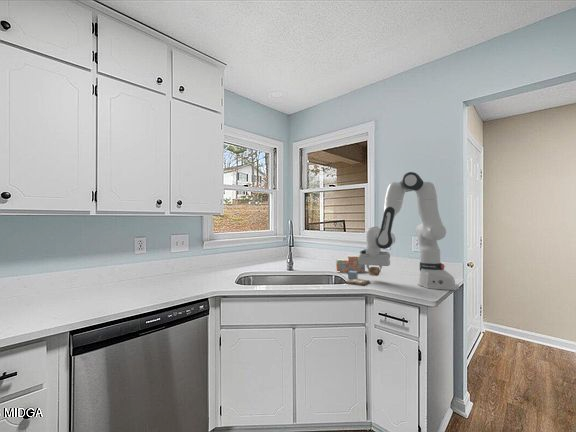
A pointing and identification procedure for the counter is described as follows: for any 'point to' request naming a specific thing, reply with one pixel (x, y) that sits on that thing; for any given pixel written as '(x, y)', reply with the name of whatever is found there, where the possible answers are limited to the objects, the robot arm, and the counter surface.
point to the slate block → (353, 275)
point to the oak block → (374, 271)
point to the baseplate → (357, 282)
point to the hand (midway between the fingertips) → (374, 272)
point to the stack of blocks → (349, 264)
